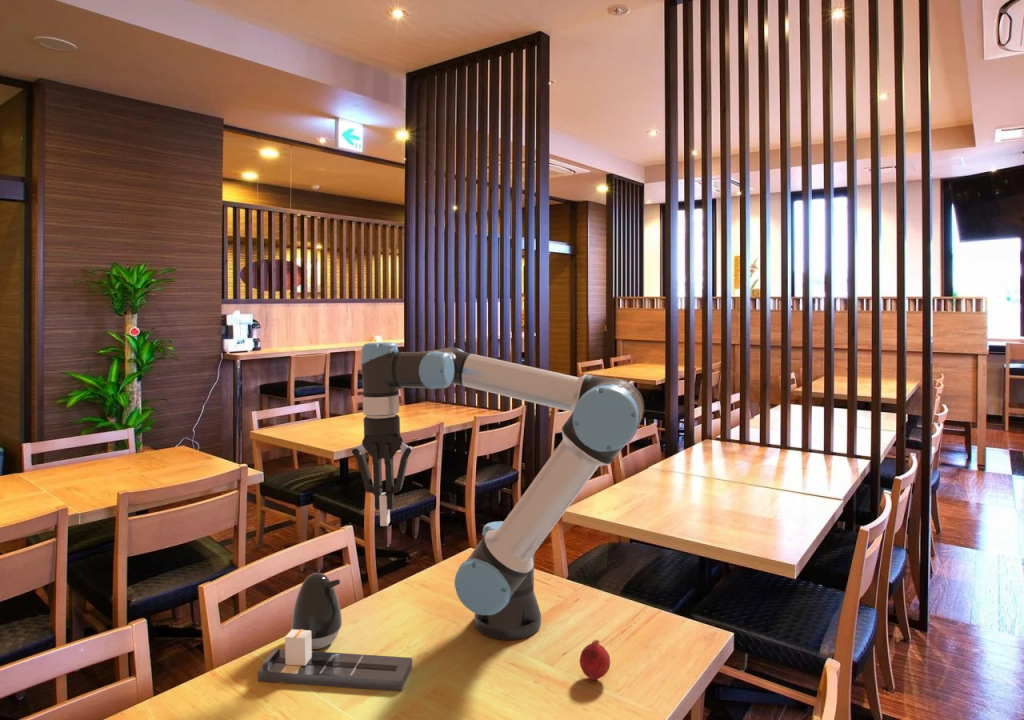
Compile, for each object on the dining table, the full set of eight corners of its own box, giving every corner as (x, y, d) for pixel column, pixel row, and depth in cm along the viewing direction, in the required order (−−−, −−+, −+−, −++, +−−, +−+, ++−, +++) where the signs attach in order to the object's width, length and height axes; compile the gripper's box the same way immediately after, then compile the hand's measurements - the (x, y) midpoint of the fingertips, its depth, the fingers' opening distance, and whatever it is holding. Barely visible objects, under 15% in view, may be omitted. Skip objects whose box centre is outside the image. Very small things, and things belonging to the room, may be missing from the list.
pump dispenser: (328, 658, 130) (327, 586, 128) (282, 652, 132) (281, 581, 130) (351, 633, 140) (350, 566, 138) (307, 628, 142) (306, 562, 140)
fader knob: (311, 657, 126) (311, 629, 126) (305, 665, 123) (304, 637, 123) (292, 656, 126) (291, 628, 126) (285, 664, 123) (285, 636, 123)
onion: (601, 692, 119) (603, 651, 119) (574, 682, 122) (575, 642, 122) (614, 677, 124) (615, 637, 124) (587, 668, 127) (588, 629, 127)
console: (412, 667, 127) (412, 653, 127) (401, 691, 119) (401, 675, 119) (277, 658, 129) (277, 644, 129) (258, 681, 122) (257, 666, 121)
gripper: (415, 412, 139) (418, 518, 140) (356, 412, 139) (359, 518, 141) (408, 417, 131) (411, 529, 133) (345, 418, 132) (350, 530, 133)
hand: (385, 523), depth 137 cm, fingers closed
